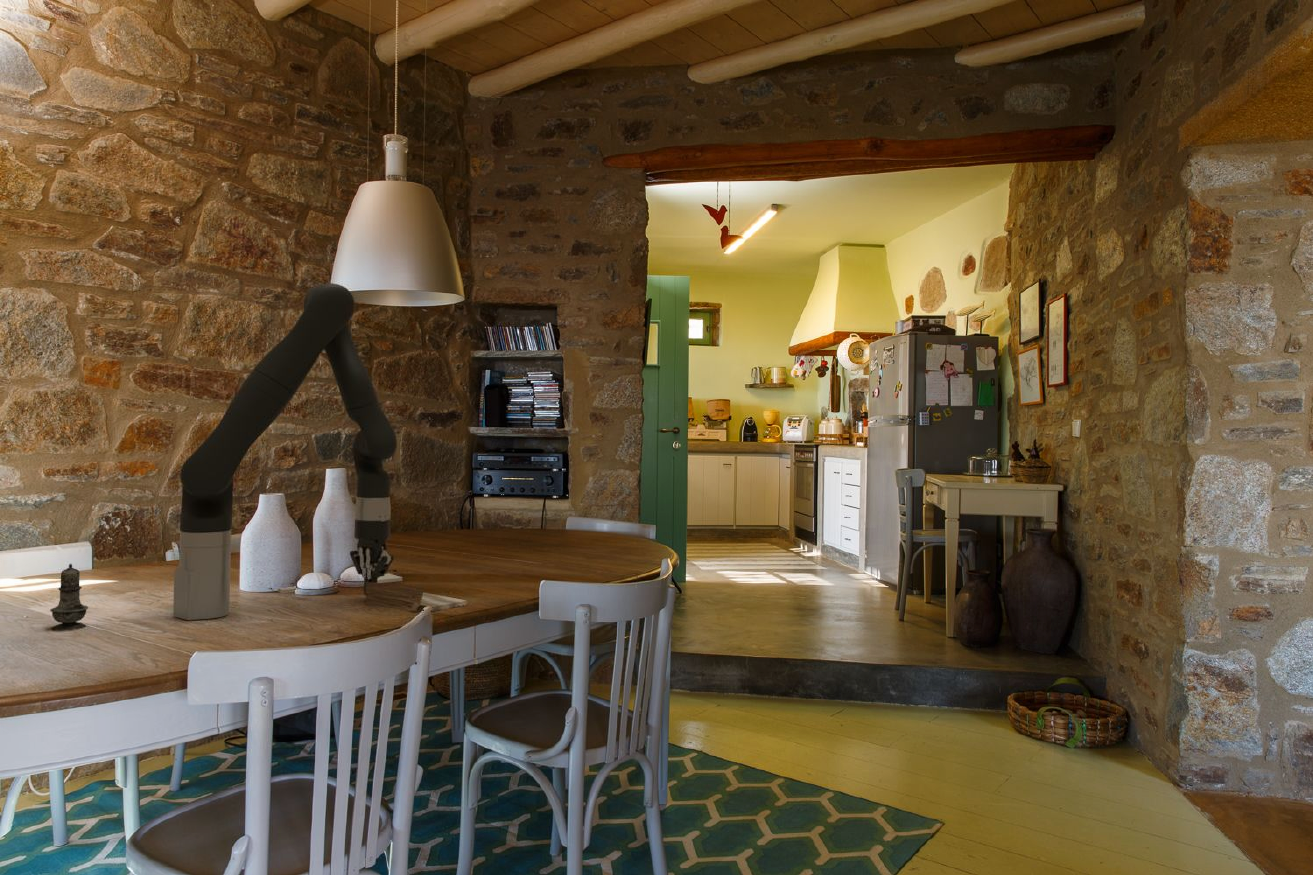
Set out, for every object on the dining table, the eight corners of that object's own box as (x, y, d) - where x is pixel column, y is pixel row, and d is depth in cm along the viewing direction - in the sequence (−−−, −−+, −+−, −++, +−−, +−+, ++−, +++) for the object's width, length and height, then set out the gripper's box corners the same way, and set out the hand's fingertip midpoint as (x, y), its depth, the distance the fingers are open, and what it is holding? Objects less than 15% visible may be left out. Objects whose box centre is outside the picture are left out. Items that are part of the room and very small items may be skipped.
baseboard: (265, 589, 205) (280, 596, 198) (266, 577, 205) (281, 583, 198) (384, 577, 226) (402, 583, 219) (385, 566, 226) (402, 572, 219)
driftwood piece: (361, 605, 187) (362, 582, 188) (367, 603, 189) (368, 581, 189) (416, 612, 181) (417, 589, 181) (422, 611, 183) (424, 587, 183)
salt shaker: (55, 624, 162) (56, 561, 162) (91, 623, 164) (93, 560, 164) (45, 631, 156) (46, 566, 156) (83, 630, 159) (84, 565, 159)
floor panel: (431, 611, 182) (431, 607, 182) (371, 599, 193) (371, 595, 193) (466, 604, 190) (466, 600, 190) (406, 593, 202) (407, 589, 202)
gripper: (339, 516, 192) (337, 593, 192) (377, 520, 184) (374, 601, 184) (368, 514, 198) (366, 589, 198) (405, 518, 190) (403, 596, 190)
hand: (370, 595), depth 191 cm, fingers closed
